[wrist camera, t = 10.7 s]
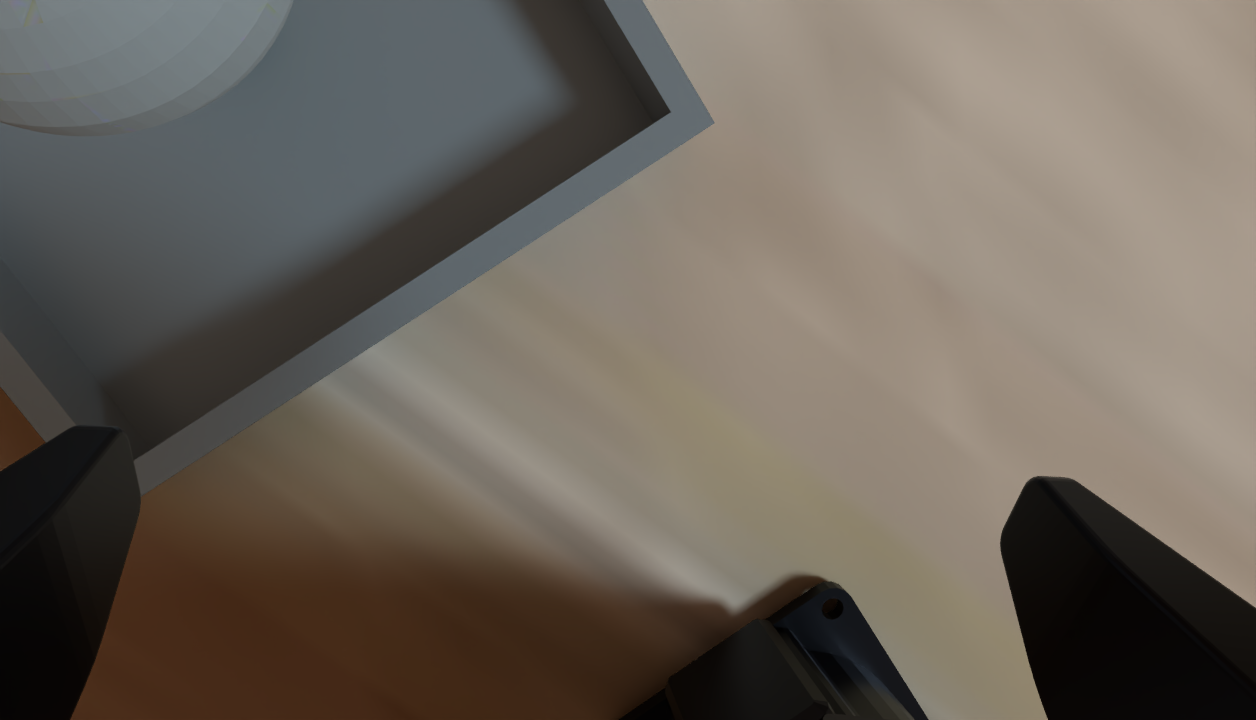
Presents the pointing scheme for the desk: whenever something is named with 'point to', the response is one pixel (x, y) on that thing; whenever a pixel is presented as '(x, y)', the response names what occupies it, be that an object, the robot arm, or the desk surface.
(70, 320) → the tray
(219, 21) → the light bulb
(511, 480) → the desk surface
